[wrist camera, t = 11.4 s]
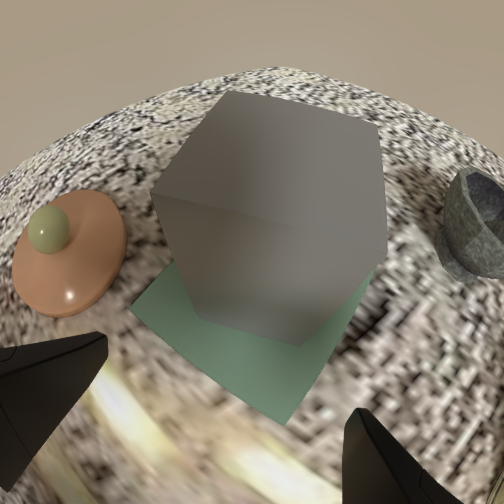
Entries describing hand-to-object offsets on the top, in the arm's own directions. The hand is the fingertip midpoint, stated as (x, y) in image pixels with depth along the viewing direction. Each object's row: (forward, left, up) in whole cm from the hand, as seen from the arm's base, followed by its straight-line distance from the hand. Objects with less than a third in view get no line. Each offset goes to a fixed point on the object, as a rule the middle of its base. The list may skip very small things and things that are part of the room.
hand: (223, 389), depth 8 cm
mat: (+7, +2, -7) cm, 10 cm away
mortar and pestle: (+20, -12, -8) cm, 24 cm away
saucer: (0, +16, -7) cm, 18 cm away
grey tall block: (+7, +2, -7) cm, 10 cm away
